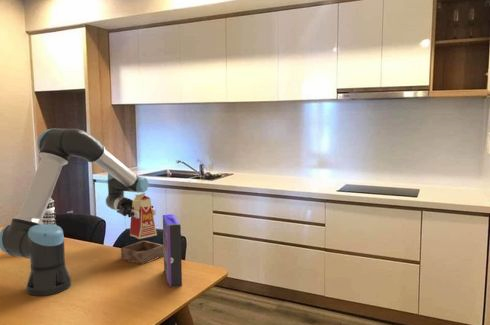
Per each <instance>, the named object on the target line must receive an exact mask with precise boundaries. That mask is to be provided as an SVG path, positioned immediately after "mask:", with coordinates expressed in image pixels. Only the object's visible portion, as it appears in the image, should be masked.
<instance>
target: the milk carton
mask: <svg viewBox="0 0 490 325" xmlns="http://www.w3.org/2000/svg"><path fill="white" fill-rule="evenodd" d="M132 200H133V203H132V210H135V211H138V212H139V218H136V217H133V216H131V217H130V223H129V224H130V225H129V236H130V237H134V238H136V239H138V240H142V239H146V238H151V237H154V236H158V234H157V228H156V224H155V218H154V215H153V213H152V206H153V205H152V200H151V197H149V196H147V195H146V192H142V193H140V194H135V197H134V199H132Z"/></svg>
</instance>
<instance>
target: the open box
mask: <svg viewBox="0 0 490 325" xmlns="http://www.w3.org/2000/svg"><path fill="white" fill-rule="evenodd" d="M120 254H121V255H120V257H121V260H124V259H125V261H127V260H129V261H128V262H131V261H132V262H131V263H134V262H137V263H136V264H138V263H140V264H139V265H141V264H142V265H144V264H143V263H145V262H147V263H149V262H148V261H150V260H152V259H155V258H157V257H160V258H162V257H163V258H164V246H163V244H160V243H156V242H151V241H149V240H140V241H137V242H135V243H131V244H129V245H126V246H123V247H121V248H120ZM155 260H156V259H155ZM150 262H151V261H150ZM145 264H146V263H145Z"/></svg>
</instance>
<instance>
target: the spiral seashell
mask: <svg viewBox="0 0 490 325" xmlns="http://www.w3.org/2000/svg"><path fill="white" fill-rule="evenodd" d="M54 202H55V200H53V198H52V197H51V198H50V200H49V203H48V206H47V208H46V211H45V214H44V216H43V219H42V222H43V224H53V225H57V223H56V221H57V219H55V218H56V217H57V215H56V214H57V212H55V211H56V208H55V204H54Z"/></svg>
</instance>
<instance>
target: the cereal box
mask: <svg viewBox="0 0 490 325" xmlns="http://www.w3.org/2000/svg"><path fill="white" fill-rule="evenodd" d="M181 234H182V231H181V223H180V221H179V220H178V219H177V217H176V215H175V214H171V213H169V214H162V238H163V239H162V242H163V243H162V245H163V246H164V256H163V271H165V272H164V274H166V275H165V278H166V277H167V278H166V280H167V284H169V285H168V287H169V288H173V286H175V287H182V286H183V276H182V275H183V272H182V269H183V268H182V265H183V264H182V235H181Z"/></svg>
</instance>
